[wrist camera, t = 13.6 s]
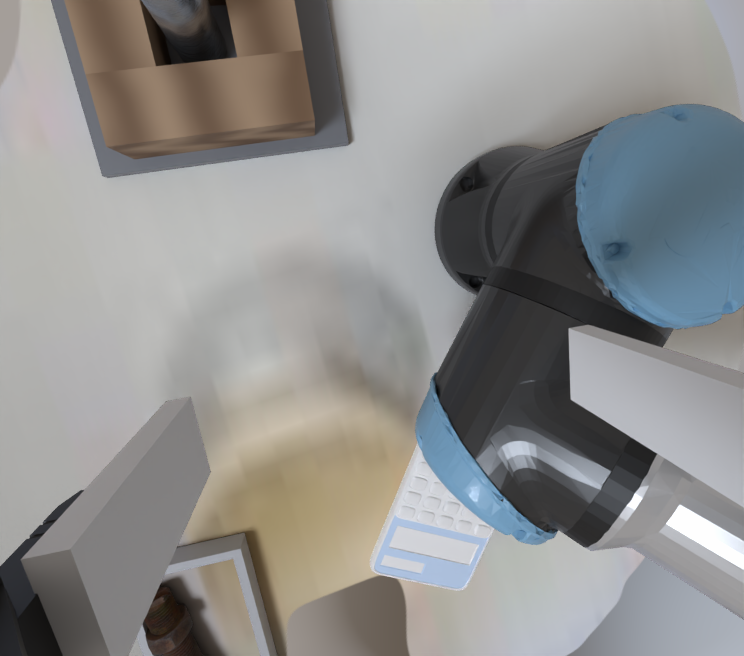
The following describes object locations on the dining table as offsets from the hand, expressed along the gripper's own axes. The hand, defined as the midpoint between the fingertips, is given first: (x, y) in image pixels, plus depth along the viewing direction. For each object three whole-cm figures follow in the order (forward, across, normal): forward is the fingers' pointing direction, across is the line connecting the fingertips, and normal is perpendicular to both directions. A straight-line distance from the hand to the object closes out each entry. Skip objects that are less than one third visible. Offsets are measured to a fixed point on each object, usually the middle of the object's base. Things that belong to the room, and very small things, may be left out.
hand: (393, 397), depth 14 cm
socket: (+29, +8, -23) cm, 37 cm away
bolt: (+29, +24, +37) cm, 53 cm away
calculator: (+29, -8, +28) cm, 42 cm away
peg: (+28, +8, -23) cm, 37 cm away
